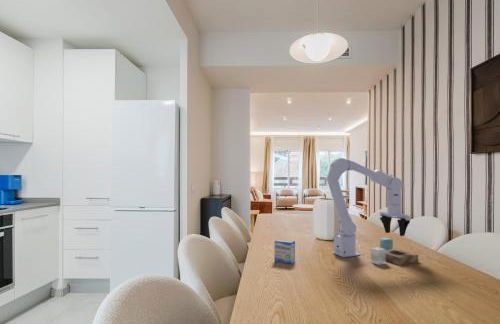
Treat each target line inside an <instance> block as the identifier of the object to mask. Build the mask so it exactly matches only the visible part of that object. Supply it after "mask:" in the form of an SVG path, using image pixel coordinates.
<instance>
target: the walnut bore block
mask: <svg viewBox="0 0 500 324" xmlns="http://www.w3.org/2000/svg"><path fill="white" fill-rule="evenodd" d="M386 262H388V263H392V264H394V265H398V266H403V265H409V264H414V263H419V254H416V253H413V252H410V251H406V250H402V249H398V248H393V249H390V250H386Z"/></svg>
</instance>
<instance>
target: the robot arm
mask: <svg viewBox="0 0 500 324" xmlns="http://www.w3.org/2000/svg"><path fill="white" fill-rule="evenodd" d="M346 171H355V172H356V173H359V174H360V175H364V176H366V177H369V178H370V181H371V182H374V183H375V184H378V185H380V186H381V187H382V186H383V187H385V188H386V192H387V193H386V199H387V201H386V202H387V203H386V205H387V206H386V207H387V210H386V211H380V212H379V216H380V217H379V220H380V221H381V223H382V225H383V228H384V232H385V233H386V234H388V233H389V234H390V233H391V222H392V220H393V219H397V220H396V222H397V223H398V224H397V225H398V230H399V236H400V237H405V235H406V231H407V228H408V226H409V224H410V223H411V215H408V214H404V213H402V189H403V187H404V183H403V181H402V180H401V179H400V178H398V177H393V175H394V174H393V175H392V174H388V173H385V172H383V170H382V169H375V170H372V169H370V168H368V167H367V166H363V165H361V164H360V163H357V162H355V161H352V160H350V159H346V158H343V157H341V158H340V157H339V158H337V159H334V160H333V161H332V162H331V164H330V165H329V168H328V173H327V175H326V181H327V185H328V187H329V190H330V194H331V197H332V200H333V203H334V207H335V209H336V213H337V219H338V228H339V232H338V235H335V236H334V237H333V251H332V254H333V255H337V256H340V257H342V258H349V257H350V258H351V257H354V256H361V254H360V253H359V252H356V251H357V250H356V249H357V248H356V246H357V245H356V244H357V243H356V242H357V241H356V232H357V227H356V223H355V222H353V221H352V217H351V215H350V213H349V211H348V207H347V204H346V201H345V198H344V195H343V191H342V188H341V185H340V181H339V180H340V178H341V176H342V175H343V174H344V173H345V172H346Z"/></svg>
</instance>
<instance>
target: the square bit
mask: <svg viewBox="0 0 500 324" xmlns="http://www.w3.org/2000/svg"><path fill="white" fill-rule="evenodd" d="M370 262H371V264H374V265H378V266H382V265H386V264H387V261H386V249H383V248H380V246H375V247H371V248H370Z"/></svg>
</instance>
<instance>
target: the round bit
mask: <svg viewBox="0 0 500 324" xmlns="http://www.w3.org/2000/svg"><path fill="white" fill-rule="evenodd" d="M393 241H394V239H393V238H390V237H379V247H380V248H383V249H386V250H390V249H394V242H393Z"/></svg>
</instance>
